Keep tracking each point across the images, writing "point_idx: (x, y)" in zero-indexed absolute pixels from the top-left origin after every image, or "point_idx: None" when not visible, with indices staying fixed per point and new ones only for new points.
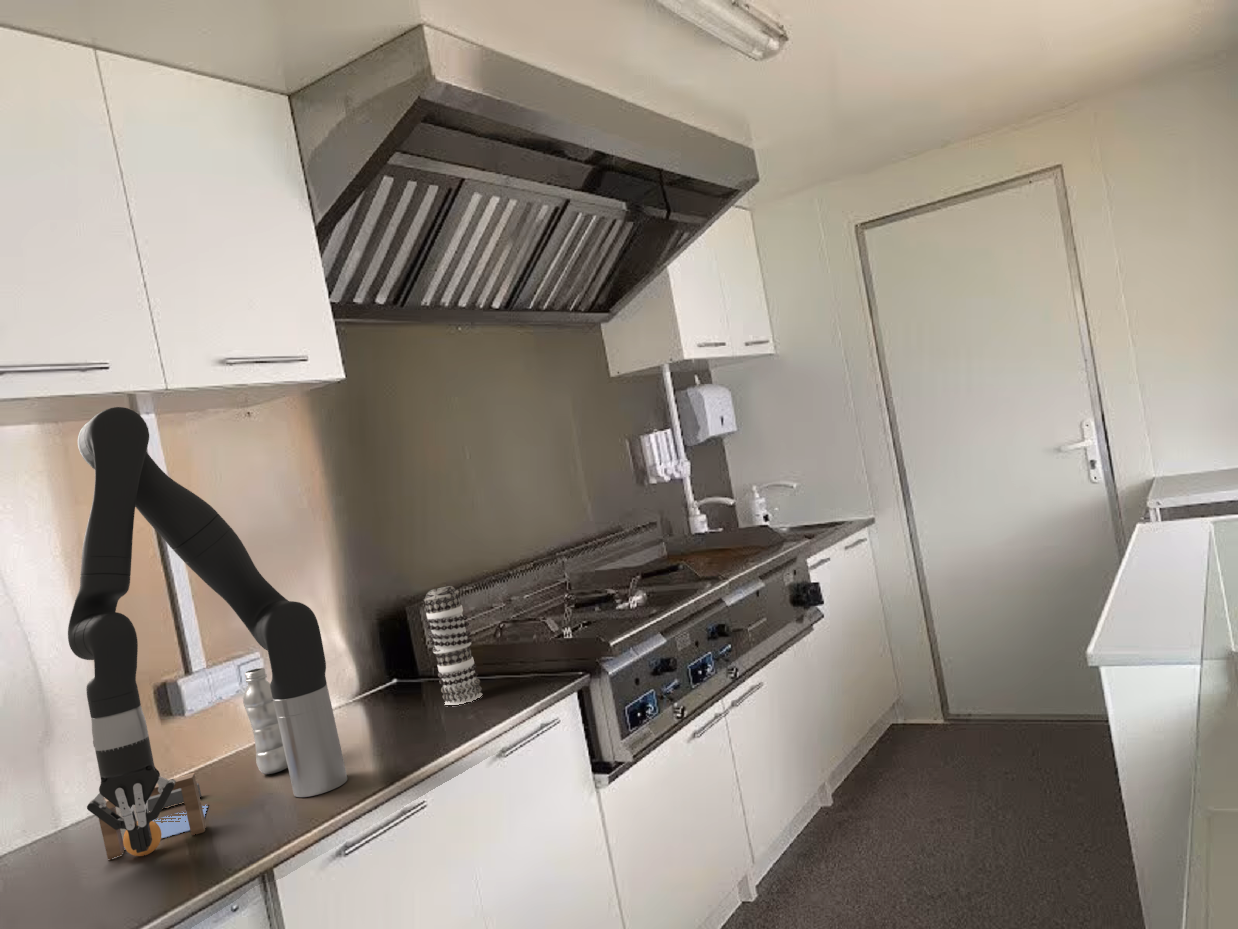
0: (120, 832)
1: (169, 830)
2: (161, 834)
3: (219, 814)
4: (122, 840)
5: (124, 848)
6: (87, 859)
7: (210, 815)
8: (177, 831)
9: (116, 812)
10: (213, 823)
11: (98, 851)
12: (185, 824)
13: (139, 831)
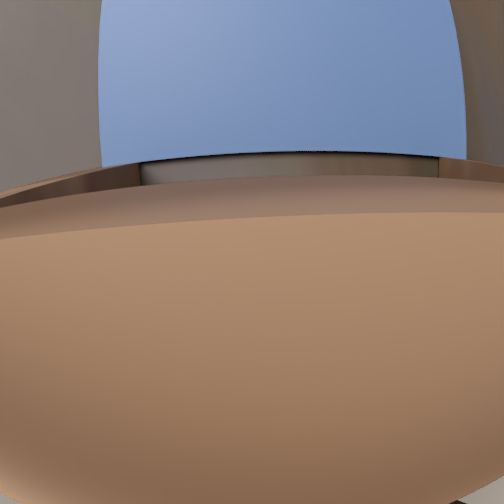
0: (100, 186)
1: (334, 56)
2: (300, 80)
3: (493, 51)
4: (120, 173)
5: (135, 166)
6: (6, 151)
7: (464, 21)
8: (379, 115)
9: (13, 199)
10: (492, 147)
11: (25, 76)
12: (398, 44)
13: None
